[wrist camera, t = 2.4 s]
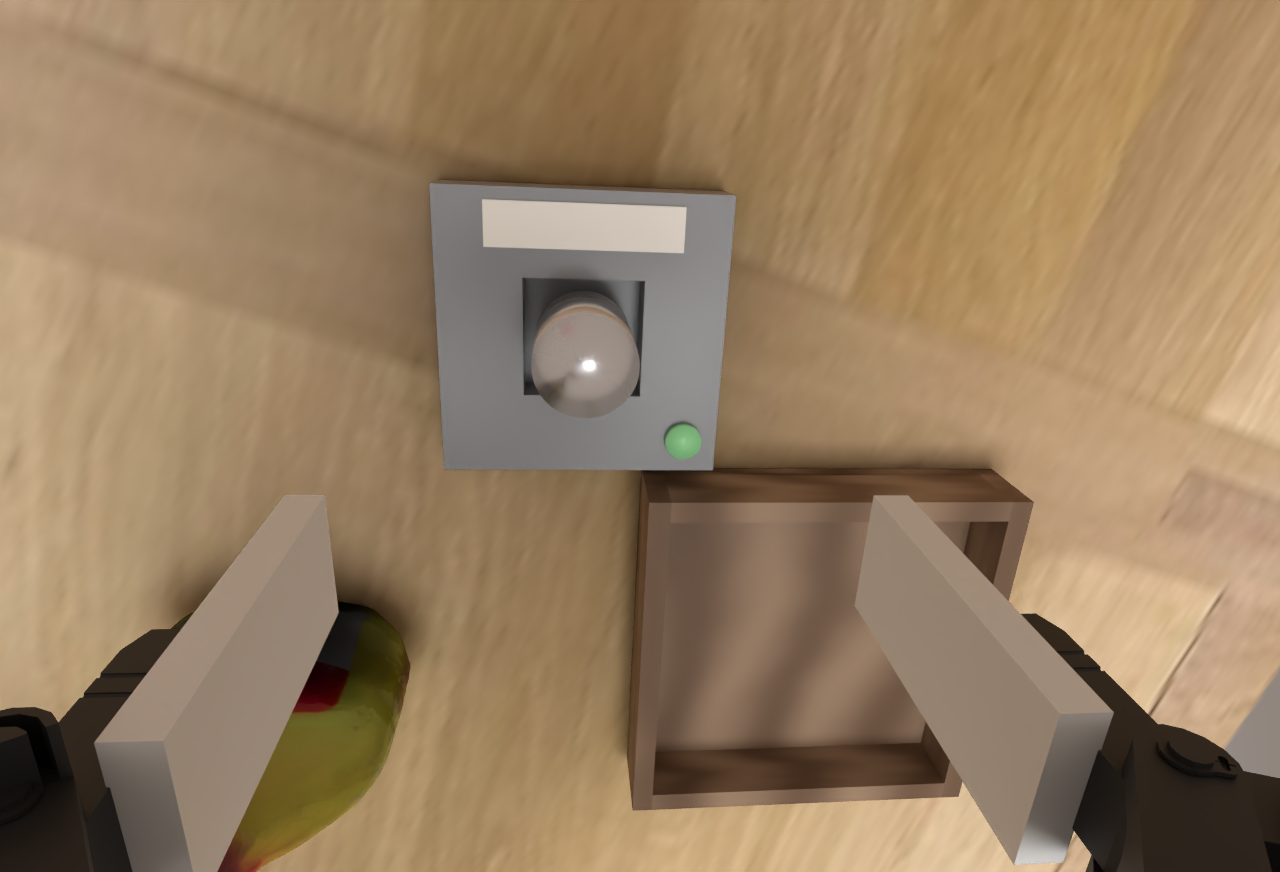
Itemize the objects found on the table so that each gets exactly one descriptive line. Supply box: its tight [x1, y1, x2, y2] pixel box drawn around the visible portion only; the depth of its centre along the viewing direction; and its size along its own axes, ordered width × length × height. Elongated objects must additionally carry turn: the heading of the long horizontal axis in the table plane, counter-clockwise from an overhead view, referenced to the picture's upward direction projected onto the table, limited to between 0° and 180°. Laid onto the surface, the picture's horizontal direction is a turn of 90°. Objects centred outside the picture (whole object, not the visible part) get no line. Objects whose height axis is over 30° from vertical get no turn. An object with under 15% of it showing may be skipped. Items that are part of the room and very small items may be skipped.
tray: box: [627, 468, 1034, 810], centre depth 40 cm, size 18×18×4 cm
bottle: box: [171, 601, 410, 872], centre depth 30 cm, size 12×6×20 cm, turn 75°
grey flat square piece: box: [429, 180, 736, 470], centre depth 33 cm, size 12×12×3 cm
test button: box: [531, 291, 640, 418], centre depth 30 cm, size 4×4×4 cm
